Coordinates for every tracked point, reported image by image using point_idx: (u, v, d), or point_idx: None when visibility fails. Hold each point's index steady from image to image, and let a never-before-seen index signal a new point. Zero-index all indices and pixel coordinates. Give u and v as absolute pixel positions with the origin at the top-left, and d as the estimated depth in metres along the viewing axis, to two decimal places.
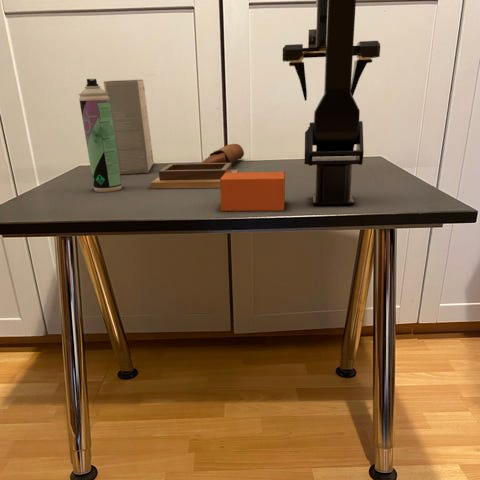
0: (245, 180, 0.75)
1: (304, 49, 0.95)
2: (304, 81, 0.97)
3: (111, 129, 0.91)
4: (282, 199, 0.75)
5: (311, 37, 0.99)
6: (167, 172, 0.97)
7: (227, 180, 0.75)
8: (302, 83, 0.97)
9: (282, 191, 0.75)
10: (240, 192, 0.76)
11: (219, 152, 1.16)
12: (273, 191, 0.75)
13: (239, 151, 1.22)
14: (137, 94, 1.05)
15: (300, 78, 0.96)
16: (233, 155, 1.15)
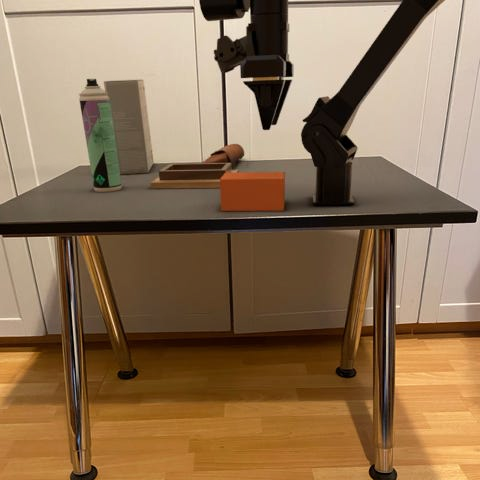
0: (245, 180, 0.75)
1: None
2: (277, 105, 0.73)
3: (111, 129, 0.91)
4: (282, 199, 0.75)
5: (235, 46, 0.72)
6: (167, 172, 0.97)
7: (227, 180, 0.75)
8: (276, 107, 0.73)
9: (282, 191, 0.75)
10: (240, 192, 0.76)
11: (220, 152, 1.16)
12: (273, 191, 0.75)
13: (240, 151, 1.22)
14: (137, 94, 1.05)
15: (278, 101, 0.72)
16: (234, 155, 1.15)
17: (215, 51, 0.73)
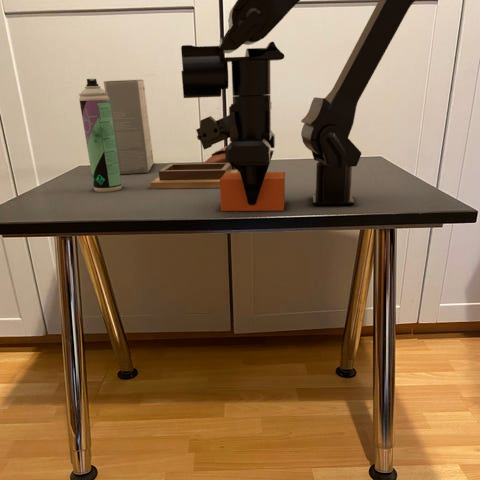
0: None
1: None
2: None
3: (111, 129, 0.91)
4: (282, 199, 0.75)
5: (219, 127, 0.71)
6: (167, 172, 0.97)
7: (227, 180, 0.75)
8: (261, 185, 0.74)
9: (282, 191, 0.75)
10: (240, 192, 0.76)
11: (221, 152, 1.16)
12: (272, 191, 0.75)
13: None
14: (137, 94, 1.05)
15: (263, 179, 0.73)
16: None
17: (198, 130, 0.72)
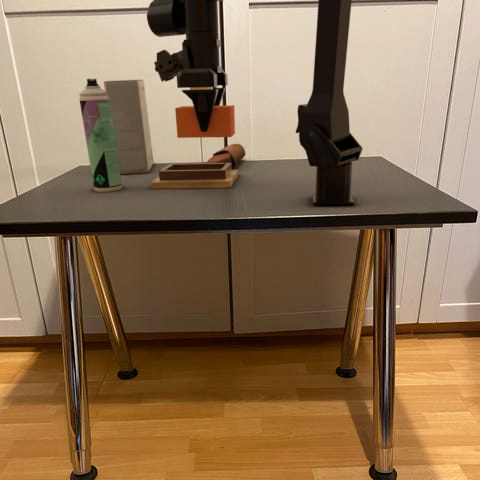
0: None
1: None
2: (212, 110, 0.85)
3: (111, 129, 0.91)
4: (230, 126, 0.86)
5: (173, 59, 0.82)
6: (167, 172, 0.97)
7: (181, 109, 0.86)
8: (211, 112, 0.85)
9: (229, 119, 0.86)
10: (193, 120, 0.87)
11: (223, 152, 1.15)
12: (221, 119, 0.86)
13: (242, 151, 1.22)
14: (137, 94, 1.05)
15: (212, 107, 0.84)
16: (237, 155, 1.15)
17: (155, 63, 0.83)
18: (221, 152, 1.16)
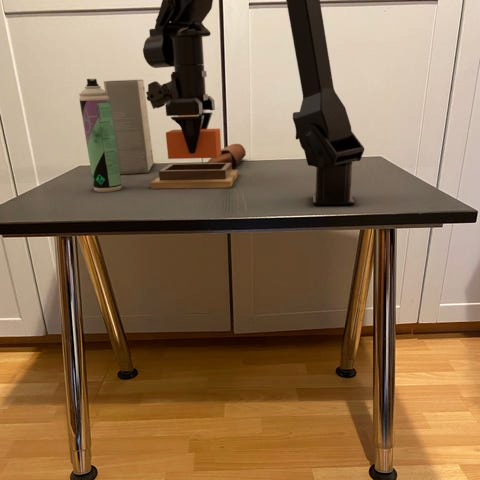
0: None
1: None
2: (199, 134, 0.94)
3: (111, 129, 0.91)
4: (215, 148, 0.95)
5: (163, 90, 0.91)
6: (167, 172, 0.97)
7: (171, 133, 0.95)
8: (198, 136, 0.94)
9: (215, 141, 0.95)
10: (182, 142, 0.95)
11: (224, 152, 1.15)
12: (207, 141, 0.95)
13: (242, 151, 1.22)
14: (137, 94, 1.05)
15: (199, 131, 0.93)
16: (238, 155, 1.15)
17: (147, 93, 0.92)
18: (222, 152, 1.16)
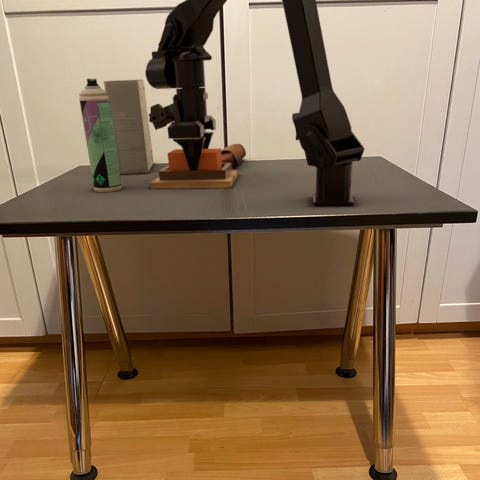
0: None
1: None
2: (200, 155, 0.96)
3: (111, 129, 0.91)
4: (216, 169, 0.97)
5: (165, 112, 0.93)
6: (167, 172, 0.97)
7: (173, 154, 0.97)
8: (199, 157, 0.95)
9: (216, 162, 0.96)
10: (184, 163, 0.97)
11: (225, 152, 1.15)
12: (208, 162, 0.96)
13: (243, 151, 1.22)
14: (137, 94, 1.05)
15: (200, 152, 0.95)
16: (239, 155, 1.15)
17: (149, 115, 0.94)
18: (223, 152, 1.16)
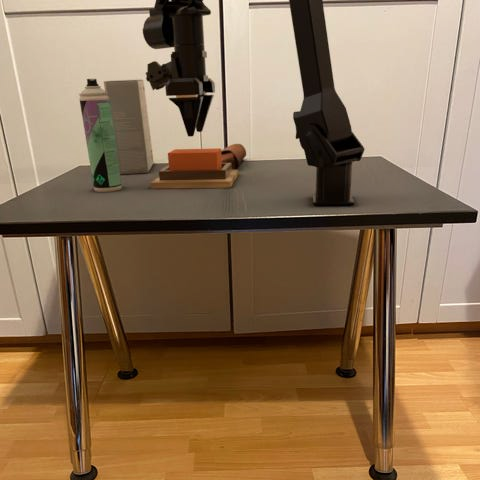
0: (187, 154, 0.96)
1: None
2: (198, 116, 0.91)
3: (111, 129, 0.91)
4: (216, 168, 0.97)
5: (162, 70, 0.89)
6: (167, 172, 0.97)
7: (173, 154, 0.97)
8: (197, 118, 0.91)
9: (216, 162, 0.96)
10: (184, 163, 0.97)
11: (225, 152, 1.15)
12: (208, 162, 0.97)
13: (243, 151, 1.22)
14: (137, 94, 1.05)
15: (198, 113, 0.90)
16: (240, 155, 1.15)
17: (146, 73, 0.91)
18: (223, 152, 1.16)
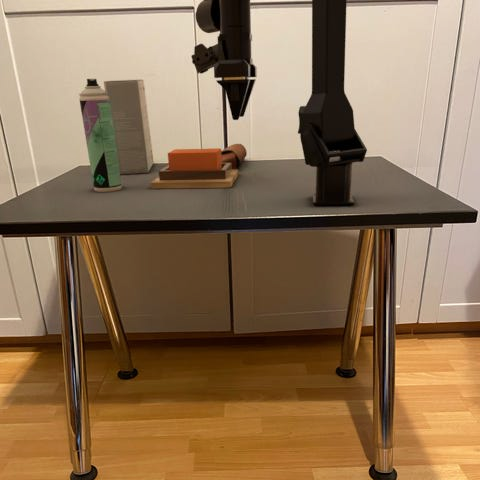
0: (187, 154, 0.96)
1: None
2: (244, 99, 0.91)
3: (111, 129, 0.91)
4: (216, 168, 0.97)
5: (209, 52, 0.89)
6: (167, 172, 0.97)
7: (173, 154, 0.97)
8: (243, 101, 0.91)
9: (216, 162, 0.96)
10: (184, 163, 0.97)
11: (227, 152, 1.15)
12: (208, 162, 0.97)
13: (244, 151, 1.22)
14: (137, 94, 1.05)
15: (244, 96, 0.90)
16: (241, 155, 1.15)
17: (193, 56, 0.90)
18: (225, 152, 1.16)
